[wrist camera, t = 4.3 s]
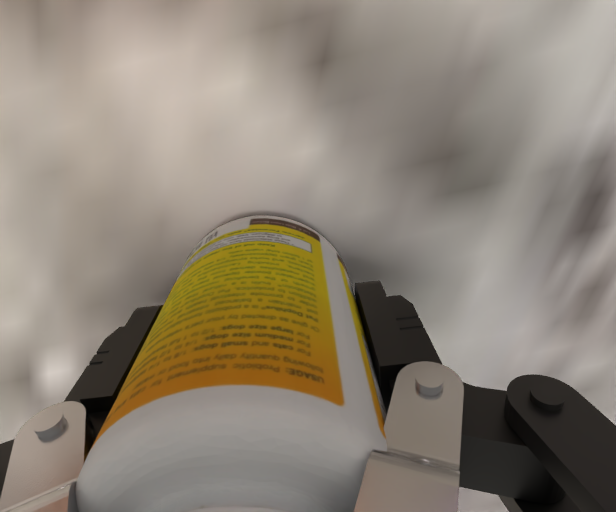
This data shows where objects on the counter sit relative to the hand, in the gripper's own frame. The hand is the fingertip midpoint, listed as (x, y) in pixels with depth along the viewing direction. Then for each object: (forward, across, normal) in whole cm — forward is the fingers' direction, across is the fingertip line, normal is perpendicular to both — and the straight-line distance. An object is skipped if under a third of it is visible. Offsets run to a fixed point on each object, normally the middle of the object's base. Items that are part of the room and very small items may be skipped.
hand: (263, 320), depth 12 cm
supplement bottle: (+2, 0, 0) cm, 2 cm away
